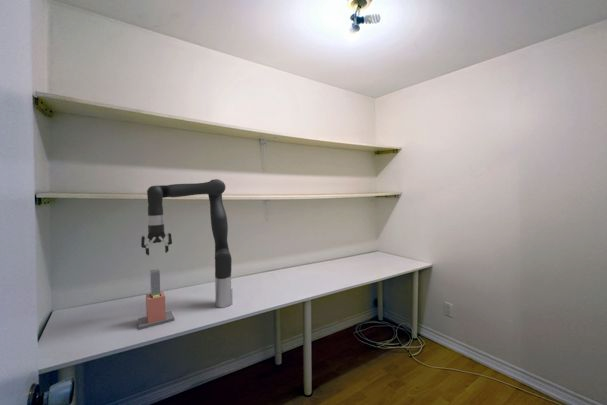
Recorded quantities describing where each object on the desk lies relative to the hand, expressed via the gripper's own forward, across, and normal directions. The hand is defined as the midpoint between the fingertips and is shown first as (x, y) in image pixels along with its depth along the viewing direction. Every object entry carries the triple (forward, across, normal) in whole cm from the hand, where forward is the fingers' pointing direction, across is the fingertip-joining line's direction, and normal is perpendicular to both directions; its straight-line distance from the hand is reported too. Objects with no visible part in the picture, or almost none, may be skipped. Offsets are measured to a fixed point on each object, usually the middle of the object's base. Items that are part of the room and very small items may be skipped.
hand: (157, 253), depth 145 cm
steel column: (+27, +2, +3) cm, 27 cm away
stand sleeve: (+35, +2, +3) cm, 35 cm away
